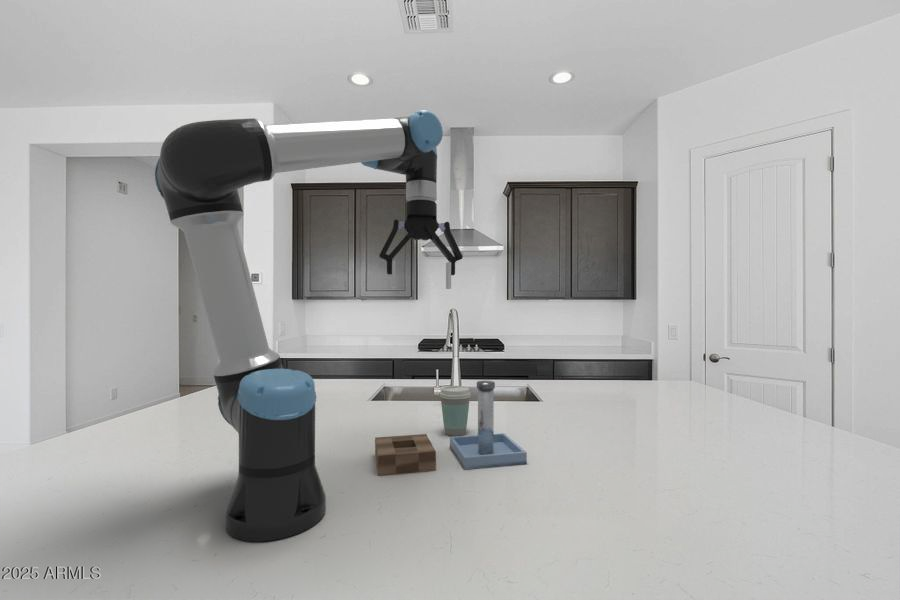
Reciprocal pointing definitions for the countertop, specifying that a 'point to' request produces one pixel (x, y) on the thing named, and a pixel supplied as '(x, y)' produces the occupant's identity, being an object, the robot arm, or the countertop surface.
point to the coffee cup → (455, 409)
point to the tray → (502, 456)
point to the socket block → (404, 454)
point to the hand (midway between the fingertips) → (421, 288)
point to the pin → (485, 417)
